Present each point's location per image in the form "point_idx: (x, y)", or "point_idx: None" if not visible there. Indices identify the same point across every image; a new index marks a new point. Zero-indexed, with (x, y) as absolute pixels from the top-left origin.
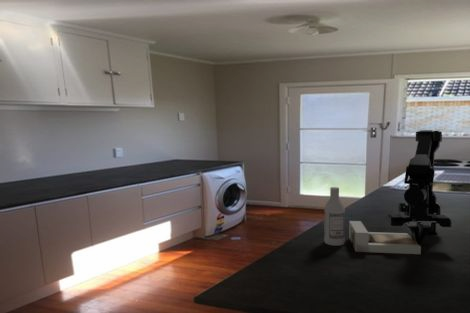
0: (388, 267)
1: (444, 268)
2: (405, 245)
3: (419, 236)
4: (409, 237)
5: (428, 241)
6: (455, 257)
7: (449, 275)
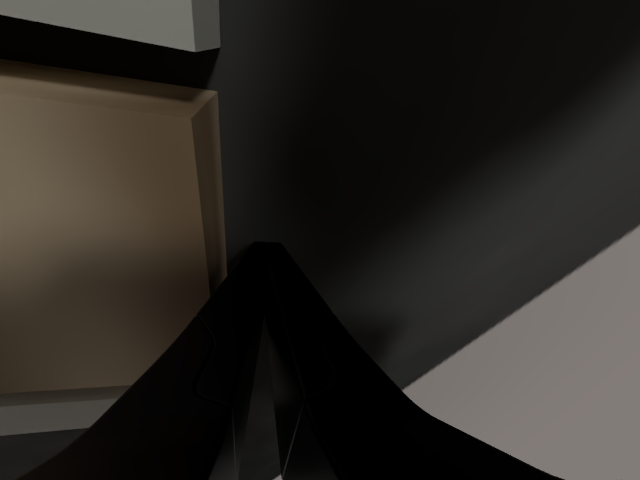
0: (17, 472)
1: (274, 436)
2: (87, 418)
3: (274, 367)
4: (166, 241)
5: (517, 42)
6: (403, 362)
7: (262, 460)
